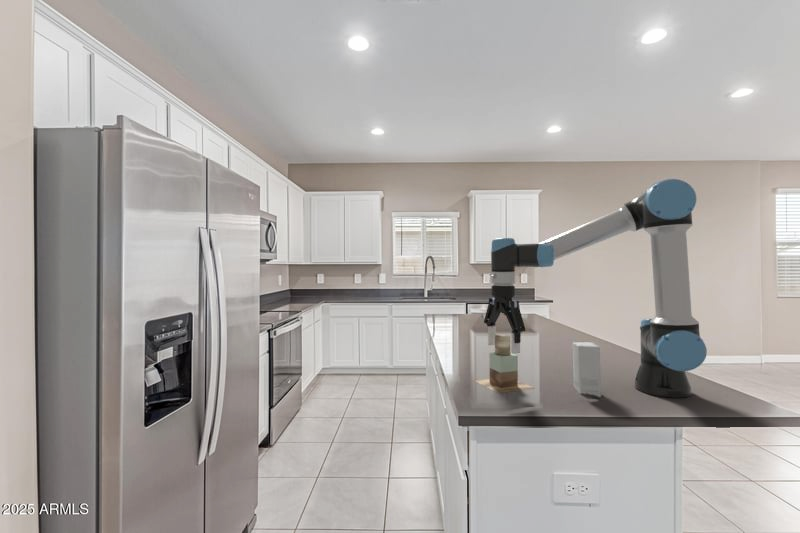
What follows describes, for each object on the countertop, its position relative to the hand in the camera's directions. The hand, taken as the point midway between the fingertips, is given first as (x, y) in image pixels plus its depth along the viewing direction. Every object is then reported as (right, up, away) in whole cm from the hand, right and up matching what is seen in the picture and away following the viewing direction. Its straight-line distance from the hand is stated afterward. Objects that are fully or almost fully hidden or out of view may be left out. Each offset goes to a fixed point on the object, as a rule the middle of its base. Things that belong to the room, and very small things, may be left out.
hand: (503, 349), depth 130 cm
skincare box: (+24, -13, -6) cm, 28 cm away
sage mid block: (0, -7, 0) cm, 7 cm away
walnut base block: (0, -12, 0) cm, 12 cm away
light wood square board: (0, -13, 0) cm, 13 cm away
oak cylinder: (0, -2, 0) cm, 2 cm away
